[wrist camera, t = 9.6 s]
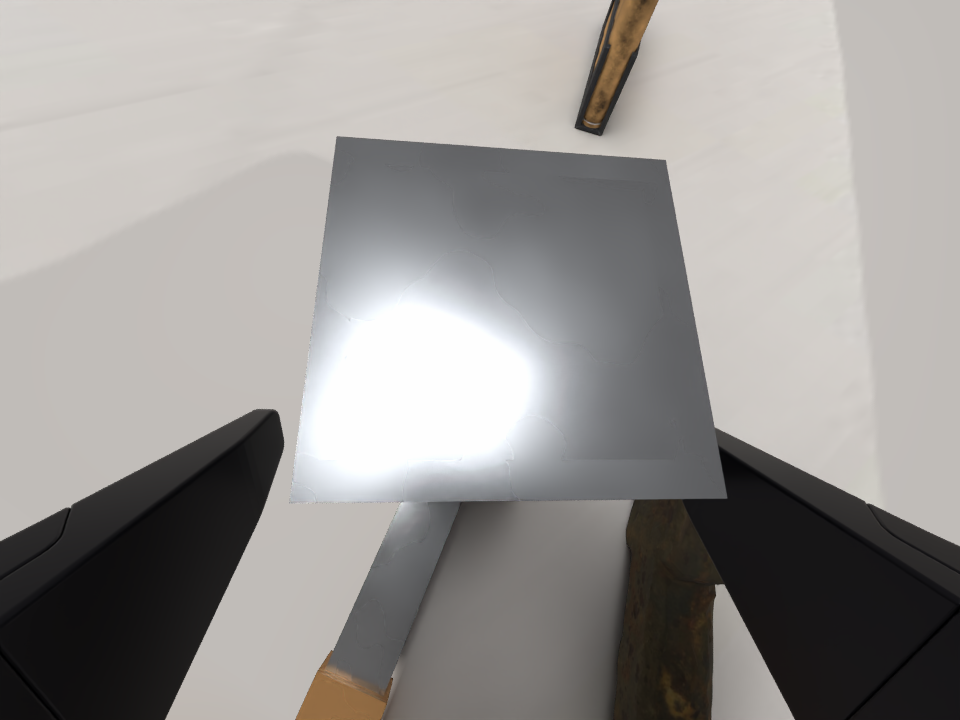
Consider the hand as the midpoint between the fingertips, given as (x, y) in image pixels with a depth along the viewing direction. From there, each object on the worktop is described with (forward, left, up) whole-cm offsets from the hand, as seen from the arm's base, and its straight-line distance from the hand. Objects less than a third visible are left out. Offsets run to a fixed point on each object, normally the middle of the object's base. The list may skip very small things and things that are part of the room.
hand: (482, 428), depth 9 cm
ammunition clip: (+28, +1, -11) cm, 30 cm away
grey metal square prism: (+1, 0, -9) cm, 9 cm away
